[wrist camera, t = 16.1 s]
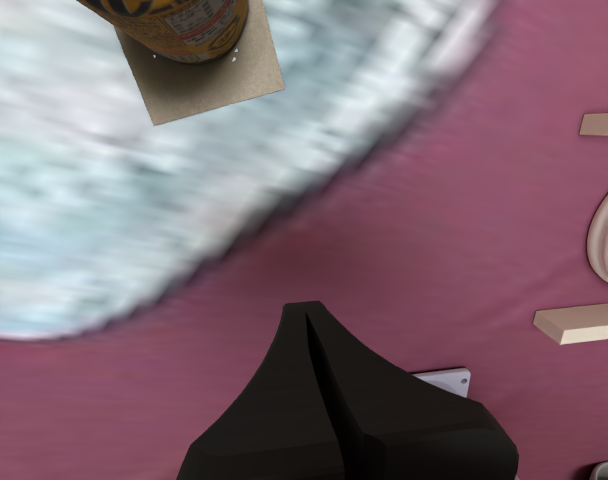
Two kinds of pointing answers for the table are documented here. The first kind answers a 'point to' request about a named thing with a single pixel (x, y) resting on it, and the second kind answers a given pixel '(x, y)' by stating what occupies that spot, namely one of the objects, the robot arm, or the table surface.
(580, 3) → the table surface
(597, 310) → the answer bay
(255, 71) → the condiment
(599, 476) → the ceramic mug
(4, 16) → the table surface
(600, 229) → the coaster
